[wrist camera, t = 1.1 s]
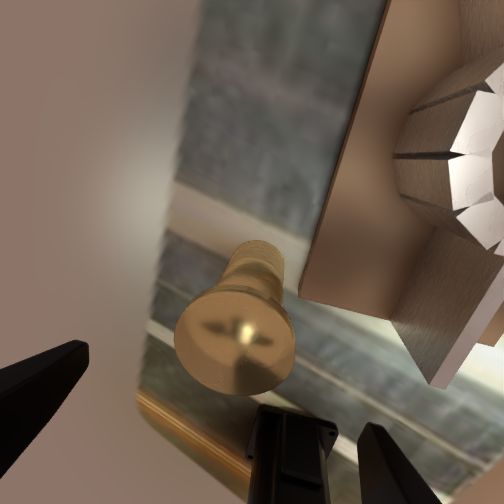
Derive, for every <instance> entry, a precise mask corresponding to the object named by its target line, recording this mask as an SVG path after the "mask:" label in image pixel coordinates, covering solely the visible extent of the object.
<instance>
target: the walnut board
mask: <svg viewBox="0 0 504 504" xmlns="http://www.w3.org/2000/svg"><path fill="white" fill-rule="evenodd" d="M461 67H463V62H462V48H461V34H460V20H459V6H458V0H388V1H387V4H386V8H385V11H384V14H383V17H382V21H381V24H380V27H379V30H378V33H377V37H376V40H375V43H374V46H373V50H372V53H371V56H370V59H369V63H368V66H367V69H366V72H365V76H364V79H363V82H362V85H361V88H360V92H359V95H358V98H357V101H356V105H355V108H354V111H353V114H352V118H351V121H350V124H349V127H348V131H347V134H346V137H345V140H344V143H343V147H342V150H341V153H340V156H339V160H338V163H337V166H336V169H335V173H334V176H333V179H332V182H331V186H330V189H329V192H328V195H327V199H326V202H325V205H324V208H323V211H322V215H321V218H320V221H319V224H318V228H317V231H316V234H315V237H314V241H313V244H312V247H311V250H310V254H309V257H308V260H307V263H306V266H305V270H304V273H303V276H302V279H301V283H300V286H299V289H298V296H299V298H302V299H306V300H310V301H314V302H318V303H322V304H326V305H330V306H334V307H338V308H342V309H346V310H350V311H354V312H358V313H362V314H366V315H370V316H373V317H377V318H381V319H385V320H389V318H390V316H391V313H392V311H393V309H394V307H395V305H396V303H397V301H398V299H399V297H400V295H401V293H402V291H403V288H404V286H405V284H406V282H407V280H408V278H409V276H410V274H411V272H412V270H413V268H414V266H415V263H416V261H417V259H418V257H419V255H420V253H421V251H422V249H423V247H424V245H425V243H426V241H427V238H428V236H429V234H430V232H431V230H432V228H433V226H434V225H432V224H430V223H428V222H426V221H424V220H422V219H420V217H419V216H418V215H417V214H416V213H415V212H414V211H413V210H412V209H411V208H410V207H409V206H408V205H407V204H406V203H405V202H404V201H403V200H402V199H401V198H400V196H401V195H402V194H401V193H398V192H397V188H396V181H395V175H394V169H393V162H392V159H394V158H398V157H401V156H402V155H398V154H393V151H394V149H395V146H396V143H397V141H398V138H399V135H400V133H401V130H402V128H403V125H404V122H405V120H406V117H407V116H408V115H411V114H413V112H412V111H411V109H412V108H413V107H414V106H415V105H416V104H417V103H418V102H419V101H420V100H421V99H422V98H423V97H424V96H425V95H426V94H427V93H428V92H429V91H430V90H431V89H433V88H434V87H435V86H436V85H437V84H438V83H439V82H440V81H441V80H442V79H443V78H444V77H445V76H447V75H449V74H450V73H452V72H453V71H455V70H457V69H459V68H461ZM492 171H493V191H494V196H495V197H496V198H497V197H498V196H499V195H500V194H502V193H503V192H504V130H503V132H502V134H501V136H500V138H499V140H498V142H497V144H496V146H495V148H494V150H493V152H492ZM389 321H390V320H389ZM503 333H504V301H503V302H502V304H501V305H500V307H499V308H498V310H497V311H496V313H495V314H494V316H493V317H492V319H491V321H490V322H489V324H488V325H487V327H486V328H485V330H484V331H483V333H482V334H481V336H480V337H479V339H478V340H477V342H476V343H480V344H484V345H488V346H492V347H494V346H495V344H496V343H497V341H498V340H499V339H500V337H501V336H502V334H503Z"/></svg>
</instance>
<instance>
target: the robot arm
mask: <svg viewBox="0 0 504 504" xmlns="http://www.w3.org/2000/svg"><path fill="white" fill-rule="evenodd" d="M88 365H89V345H88V344H87V343H86V342H83V341H79V340H72V341H70V342H67V343H65V344H62V345H60V346H57V347H55V348H52V349H50V350H47V351H45V352H42V353H40V354H37V355H35V356H32V357H30V358H27V359H25V360H22V361H20V362H17V363H15V364H12V365H10V366H7V367H5V368H2V369H0V479H1V478H2V477H3V475H4V474H5V473H6V472H7V470H8V469H9V468H10V467H11V466H12V465H13V463H14V462H15V461H16V460H17V459H18V458H19V456H20V455H21V454H22V453H23V452H24V450H25V449H26V448H27V447H28V446H29V444H30V443H31V442H32V441H33V440H34V439H35V437H36V436H37V435H38V434H39V432H40V431H41V430H42V429H43V428H44V427H45V425H46V424H47V423H48V422H49V421H50V419H51V418H52V417H53V416H54V414H55V413H56V412H57V410H58V409H59V407H60V406H61V405H62V403H63V402H64V400H65V399H66V398H67V396H68V395H69V393H70V392H71V390H72V389H73V388H74V386H75V385H76V383H77V382H78V381H79V379H80V378H81V376H82V375H83V373H84V372H85V370H86V369H87V367H88ZM338 434H339V433H338V428H337V427H336V426H335V425H333V424H329V423H326V422H322V421H319V420H315V419H312V418H308V417H304V416H301V415H297V414H294V413H290V412H287V411H283V410H280V409H276V408H272V407H269V406H264V405H263V406H260V407H259V409H258V413H257V416H256V419H255V423H254V426H253V429H252V433H251V436H250V439H249V442H248V446H247V449H246V454H245V458H246V459H247V460H249V461H252V462H253V463H252V471H251V479H250V486H249V494H248V502H247V504H331V502H330V493H329V484H328V475H327V466H326V460H327V457H328V455H329V453H330V451H331V449H332V447H333V445H334V443H335V441H336V439H337V437H338ZM357 452H358V463H359V475H360V486H361V498H362V504H442V503H441V502H440V500H439V499H438V498H437V496H436V495H435V494H434V492H433V491H432V490H431V488H430V487H429V486H428V484H427V483H426V482H425V481H424V479H423V478H422V477H421V475H420V474H419V473H418V471H417V470H416V469H415V467H414V466H413V465H412V463H411V462H410V461H409V459H408V458H407V457H406V455H405V454H404V453H403V452H402V450H401V449H400V448H399V446H398V445H397V444H396V442H395V441H394V440H393V438H392V437H391V436H390V434H389V433H388V432H387V430H386V429H385V428H384V427H383V426H382V425H379V424H376V423H372V422H368V423H367V424H366V425H365V427H364V429H363V431H362V433H361V434H360V436H359V438H358V442H357Z"/></svg>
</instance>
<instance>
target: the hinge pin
mask: <svg viewBox="0 0 504 504" xmlns="http://www.w3.org/2000/svg"><path fill="white" fill-rule="evenodd" d="M283 283H284V260H283V257H282V255H281V253H280V252H279V250H278V249H277V248H276V247H274V246H273V245H271V244H270V243H267V242H264V241H257V240H256V241H249V242H246V243H244V244H243V245H241V246H240V247H239V248H238V249H237V250H236V251H235V253H234V255H233V256H232V258H231V260H230V262H229V263H228V265H227V267H226V268H225V270H224V272H223V274H222V275H221V277H220V279H219V281H218V282H217V284H216V286H215V287H212V288H209V289H207V290H205V291H203V292H201V293H200V294H198V295H197V296H196V297H195V298H194V299H193V300H192V301H191V302H190V303H189V305H188V306H187V308H186V309H185V311H184V312H183V313H182V315H181V316H180V318H179V320H178V322H177V324H176V327H175V332H174V345H175V350H176V353H177V356H178V358H179V360H180V362H181V363H182V365H183V366H184V368H185V369H186V370H187V372H188V373H189V374H190V375H191V376H192V377H194V378H195V379H196V380H197V381H199V382H200V383H201V384H203V385H205V386H207V387H208V388H210V389H213V390H215V391H218V392H221V393H224V394H228V395H235V396H251V395H257V394H261V393H264V392H267V391H269V390H271V389H273V388H275V387H276V386H278V385H279V384H280V383H282V382H283V381H284V380H285V378H286V377H287V376H288V375H289V373H290V371H291V369H292V367H293V364H294V360H295V333H294V328H293V324H292V322H291V319H290V317H289V316H288V314H287V312H286V311H285V310H284V308H283V307H282V302H283Z"/></svg>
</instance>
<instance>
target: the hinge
mask: <svg viewBox="0 0 504 504" xmlns="http://www.w3.org/2000/svg"><path fill="white" fill-rule="evenodd" d="M458 6H459V20H460V34H461V48H462V62H463V67H461V68H459V69H457V70H455V71H453V72H452V73H450V74H449V75H447V76H445V77H444V78H443V79H442V80H441V81H440V82H439V83H438V84H437V85H436V86H435V87H434V88H433V89H431V90H430V91H429V92H428V93H427V94H426V95H425V96H424V97H423V98H422V99H421V100H420V101H419V102H418V103H417V104H416V105H415V106H414V107H413V108H412V109H411V111H412V112H413V114H411V115H408V116H407V117H406V120H405V122H404V125H403V128H402V130H401V133H400V135H399V138H398V141H397V143H396V146H395V149H394V151H393V154H398V155H402V156H401V157H398V158H394V159H392V162H393V169H394V175H395V181H396V188H397V192H398V193H401V194H402V195H401V196H400V198H401V199H402V200H403V201H404V202H405V203H406V204H407V205H408V206H409V207H410V208H411V209H412V210H413V211H414V212H415V213H416V214H417V215H418V216H419V217H420V219H422V220H424V221H426V222H428V223H430V224H432V225H434V226H433V228H432V230H431V232H430V234H429V236H428V238H427V241H426V243H425V245H424V247H423V249H422V251H421V253H420V255H419V257H418V259H417V261H416V263H415V266H414V268H413V270H412V272H411V274H410V276H409V278H408V280H407V282H406V284H405V286H404V288H403V291H402V293H401V295H400V297H399V299H398V301H397V303H396V305H395V307H394V309H393V311H392V313H391V316H390V318H389V320H390V322H391V323H392V325H393V327H394V328H395V330H396V332H397V333H398V335H399V336H400V338H401V340H402V341H403V343H404V345H405V346H406V348H407V350H408V351H409V353H410V355H411V356H412V358H413V360H414V361H415V363H416V365H417V366H418V368H419V370H420V371H421V373H422V375H423V376H424V378H425V379H426V381H427V383H428V384H429V385H430V386H434V387H437V388H441V389H446V388H447V386H448V385H449V383H450V382H451V380H452V378H453V377H454V375H455V374H456V372H457V371H458V369H459V368H460V366H461V365H462V363H463V362H464V360H465V359H466V357H467V356H468V354H469V353H470V351H471V350H472V348H473V346H474V345H475V343H476V342H477V340H478V339H479V337H480V336H481V334H482V333H483V331H484V330H485V328H486V327H487V325H488V324H489V322H490V321H491V319H492V317H493V316H494V314H495V313H496V311H497V310H498V308H499V307H500V305H501V304H502V302H503V301H504V192H503V193H502V194H500V195H499V196H498V197H497V198H496V197H495V196H494V191H493V171H492V152H493V150H494V148H495V146H496V144H497V142H498V140H499V138H500V136H501V134H502V132H503V130H504V0H458Z"/></svg>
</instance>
